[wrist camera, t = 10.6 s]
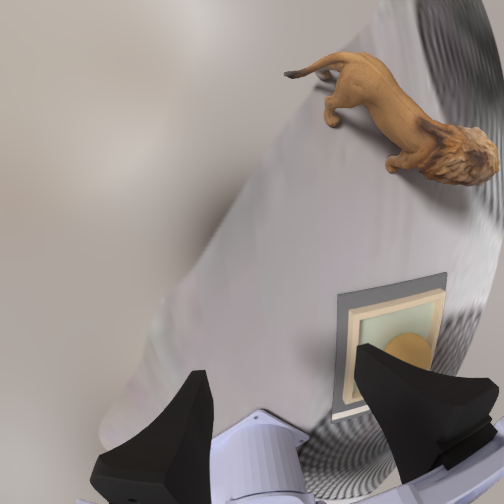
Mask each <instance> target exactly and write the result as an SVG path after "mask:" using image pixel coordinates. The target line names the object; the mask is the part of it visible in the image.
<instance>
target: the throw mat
mask: <svg viewBox="0 0 504 504" xmlns="http://www.w3.org/2000/svg"><path fill="white" fill-rule="evenodd" d="M446 282H447V272H444V273H439V274H435V275H431V276H427V277H422V278H418V279H414V280H409V281H405V282H400V283H395V284H390V285H386V286H381V287H376V288H371V289H365V290H360V291H355V292H349V293H344V294H338V300H337V344H336V365H335V380H334V393H333V404H332V414H331V424H334V423H338V422H342V421H345V420H349V419H352V418H356V417H359V416H362V415H366V414H369V413H372V412H371V410H370V409H369V407H368V405H367V404H366V402H365V400H364V399H363V397H362V395H361V394H360V392H359V389H358V387H357V385H356V382H355V380H354V369H355V359H356V349H357V346H358V345H362V344H366V343H369V344H371V345H373V346H375V347H377V348H379V349H381V350H383V351H384V350H385V348H386V346H387V345H388V343H389V342H390V341H391V340H392V339H394V338H395V337H397V336H399V335H401V334H405V333H414V334H417V335H420V336H421V337H423V338H424V339H425V340H426V341H427V342H428V344H429V346H430V349H431V354H432V359H431V364H432V360H433V356H434V352H435V348H436V344H437V339H438V335H439V330H440V325H441V320H442V314H443V308H444V302H445V295H446V291H445V290H446ZM431 364H430V367H429V369H428V371H430V368H431Z"/></svg>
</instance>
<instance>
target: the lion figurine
mask: <svg viewBox="0 0 504 504" xmlns="http://www.w3.org/2000/svg"><path fill="white" fill-rule="evenodd" d="M329 70H334V71H337V72H340V74H339V77H338V79H337V83H336V87H335V90H334V93H333V94H332V95H330V96H327V97H326V98H325V111H324V119H325V121H326V123H327V124H328V125H329V126H332V127H335V126H336V125H338V124H339V122H340V120H341V118H340V116H339V115H338V114H337V113H336V112H335V109H336V108H353V107H355V106H357V105H360V104H363V105H365V106H366V107H367V108H368V111H369V113H370V115H371V117H372V119H373V121H374V122H375V124H376V126H377V127H378V128H379V129H380V130H381V132H382V133H383V134H384V135H385V136H386V137H387V138H388V139H390V140H391V141H392V142H393V143H395V144H396V145H397V146H399V147H400V148H402V150H401V151H400V154H399V155H397V156H394V155H390V156H389V157H388V159H387V160H386V169H387V171H388V172H390V173H391V172H392V173H394V172H396V171H397V170H398V168H403V169H413V168H417V169H418V171H419V172H420V173H422V174H423V175H424V176H425V177H426V179H429V180H436V181H437V182H440V183H444V184H451V185H459V184H460V185H464V186H473V185H477V186H481V185H483V183H484V182H486V181H488V180H490V178H491V177H492V176H493V175H494V174H495V173H497V172H498V171H499V159H498V152H497V147H496V145H495V144H493V143H492V141H490V140H488V138H487V135H486V134H485V133H484V132H483V131H481V129H479V128H478V127H474V128H472V129H471V128H465V127H463V126H453V125H450V124H442V123H440V122H438V121H435V120H433V119H431V118H430V117H429V116H428V115H427V114H426V113H425V112H424V111H423V110H422V109H421V108H420V107H419V106H418V105H417V104H416V103H415V102H414V100H413V99H412V98H410V97H409V96H408V95H407V94H406V93H405V92H404V91H403V90H402V89H401V88H400V86H399V85H398V84H397V82H396V80H395V79H394V77H393V75H392V73H391V72H390V70H389V69H388V68H387V67H386V65H385V64H384V63H383V62H382V61H380V60H379V59H377V58H375V57H374V56H372V55H369V54H367V53H363V52H361V53H351V52H338V53H333V54H330V55H328V56H325V57H324V58H322V59H320V60H318V61H317V62H315V63H314V64H312V65H311V66H309V67H307V68H305V69H302V70H299V71H288V72H285V73H284V76H287V77H289V78H291V79H295V78H300V77H304V76H306V75H308V74H310V73H312V72H315V74H316V75H317V76H318V77H319V78H320V79H323V80H325V79H328V78H330V71H329Z"/></svg>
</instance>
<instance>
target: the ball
mask: <svg viewBox="0 0 504 504" xmlns="http://www.w3.org/2000/svg"><path fill="white" fill-rule="evenodd" d="M384 351H385V352H387V353H388V354H390V355H392V356H394V357H396V358H398V359H400V360H403V361H405V362H407V363H409V364H412V365H414V366H416V367H419V368H422V369H425V370H428V369H429V367H430V364H431V359H432V354H431V349H430V346H429V344H428V342H427V341H426V340H425V339H424V338H423V337H421V336H420V335H417V334H414V333H405V334H401V335H399V336H397V337H395V338H394V339H392V340H391V341H390V342H389V343H388V345H387V346H386V348H385V350H384Z"/></svg>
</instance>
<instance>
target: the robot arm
mask: <svg viewBox="0 0 504 504" xmlns="http://www.w3.org/2000/svg"><path fill="white" fill-rule="evenodd" d="M354 380H355V382H356V385H357V387H358V389H359V392H360V394H361V395H362V397H363V399H364V400H365V402H366V404H367V405H368V407H369V409H370V410H371V412H372V413H373V415H374V417H375V418H376V420H377V421H378V423H379V425H380V427H381V428H382V430H383V432H384V435H385V437H386V439H387V442H388V444H389V446H390V449H391V452H392V454H393V457H394V460H395V462H396V465H397V468H398V472H399V475H400V479H401V482H402V485H400V486H398V487H394V488H392V489H390V490H387V491H385V492H382V493H380V494H377V495H375V496H371V497H369V498H366V499H363V500H360V501H357V502H354V503H351V504H470V503H472V502H473V501H474V500H475V499H477V498H478V497H479V496H481V495H482V494H483V493H484V492H486V491H487V490H488V489H489V488H490V487H491V486H493V485H494V484H495V483H496V482H498V481H499V480H500V479H501V478H502V477H503V476H504V416H503V417H502V418H501V419H499V420H498V421H497V422H496V423H495V424H494V426H493V425H492V424H491V423H490V422H491V420H492V418H491V417H490V416H489V413H490V411H491V409H492V407H493V406H494V404H495V402H496V399H497V397H498V394H499V387H498V386H497V385H496V384H494V382H492V381H491V380H490V379H489V378H463V377H455V376H448V375H443V374H439V373H435V372H431V371H428V370H425V369H422V368H419V367H416V366H414V365H412V364H409V363H407V362H405V361H403V360H400V359H398V358H396V357H394V356H392V355H390V354H388V353H387V352H385V351H383V350H381V349H379V348H377V347H375V346H373V345H371V344H369V343H366V344H362V345H358V346H357V349H356V359H355V369H354ZM255 416H258V417H255ZM213 422H214V405H213V398H212V394H211V390H210V387H209V383H208V379H207V375H206V371H205V370H197V371H192V372H191V373H190V374H189V376H188V378H187V379H186V381H185V382H184V384H183V385H182V387H181V388H180V390H179V391H178V393H177V394H176V395H175V397H174V398H173V400H172V401H171V402H170V403H169V405H168V406H167V407H166V408H165V409H164V411H163V412H162V413H161V414H160V415H159V416H158V417H157V418H156V419H155V420H154V421H153V422H152V423H151V424H150V425H149V426H147V427H146V428H145V429H144V430H142V431H141V432H140V433H139V434H137V435H136V436H134V437H133V438H131V439H130V440H128V441H127V442H125V443H123V444H122V445H120V446H118V447H116V448H114V449H112V450H110V451H108V452H106V453H103V454H101V455H99V457H98V459H97V461H96V463H95V466H94V469H93V472H92V475H91V477H90V483H91V485H92V486H93V487H94V488H95V490H96V491H98V492H99V494H101V495H102V496H103V497H104V498H105V499H106V500H107V501H108V502H109V504H326V503H325V502H324V501H315V498H314V494H313V493H309V494H308V493H307V489H306V485H305V482H304V478H303V474H302V470H301V466H300V462H299V459H298V455H297V451H296V447H298V446H299V445H301V444H303V443H304V442H306V441H307V440H309V435H307V434H306V433H304V432H302V431H300V430H298V429H296V428H294V427H292V426H291V425H289V424H287V423H285V422H283V421H282V420H280V419H278V418H276V417H274V416H273V415H271V414H269V413H268V412H266V411H264V410H257V411H255V412H254V413H253V414H251V415H250V416H248V417H247V418H245V419H244V420H242V421H241V422H239V423H238V424H236V425H234V426H233V427H231V428H230V429H228V430H227V431H225V432H223V433H222V434H220V435H218V436H217V437H215V438H213V439H212V432H213ZM76 504H96V503H92V502H88V501H85V500H81V499H77V501H76Z"/></svg>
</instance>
